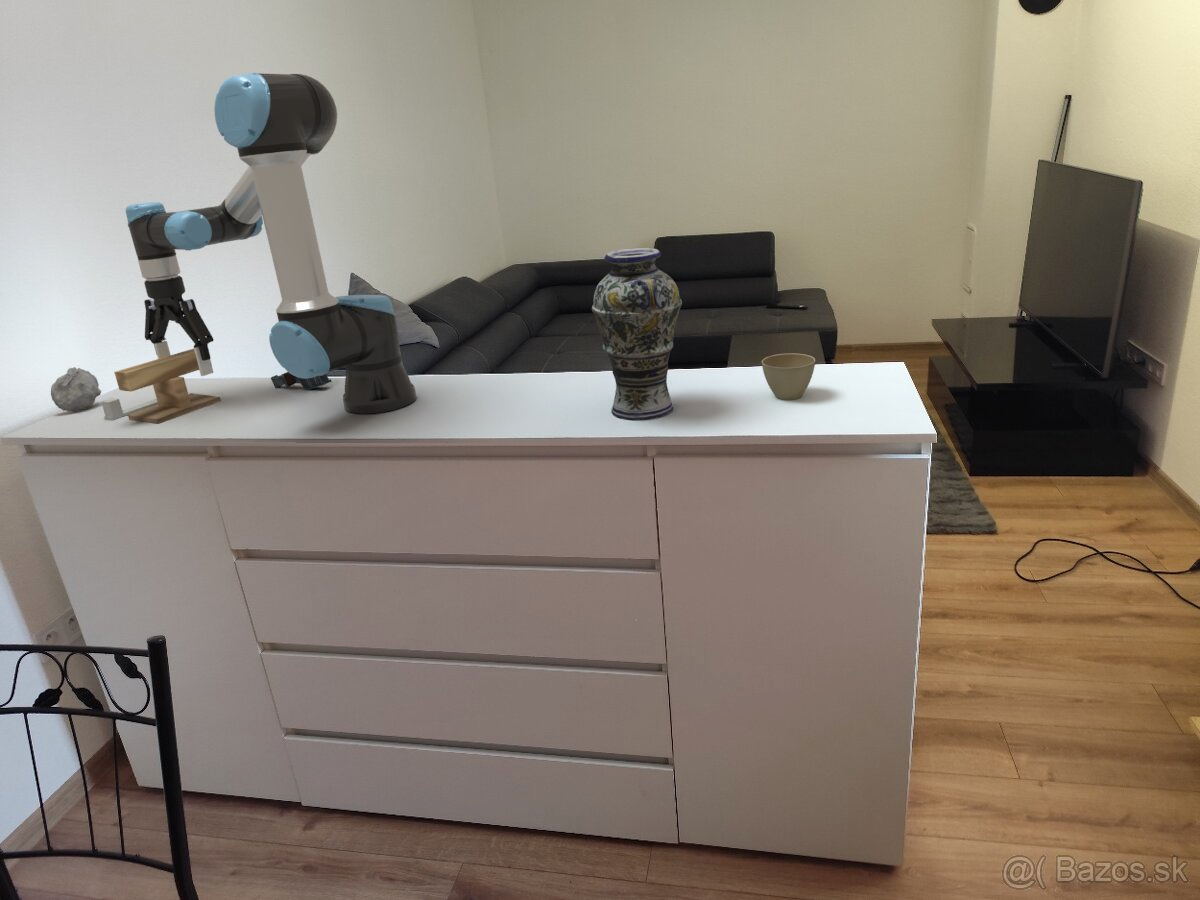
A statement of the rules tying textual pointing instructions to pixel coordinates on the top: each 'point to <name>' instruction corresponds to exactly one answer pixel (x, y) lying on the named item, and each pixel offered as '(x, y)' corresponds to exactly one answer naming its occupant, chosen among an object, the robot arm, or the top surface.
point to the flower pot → (788, 374)
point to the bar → (157, 371)
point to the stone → (75, 390)
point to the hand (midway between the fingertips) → (187, 372)
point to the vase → (637, 331)
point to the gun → (299, 381)
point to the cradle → (115, 411)
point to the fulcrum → (172, 402)
